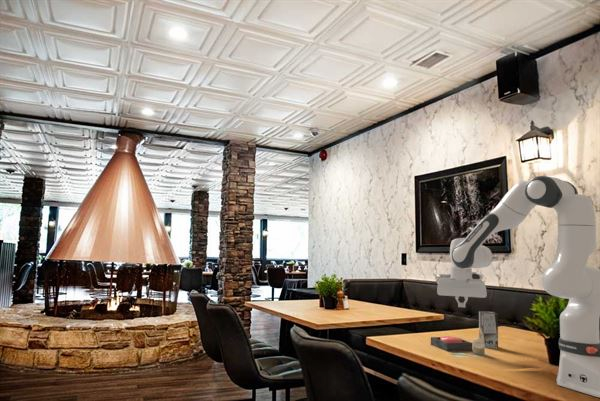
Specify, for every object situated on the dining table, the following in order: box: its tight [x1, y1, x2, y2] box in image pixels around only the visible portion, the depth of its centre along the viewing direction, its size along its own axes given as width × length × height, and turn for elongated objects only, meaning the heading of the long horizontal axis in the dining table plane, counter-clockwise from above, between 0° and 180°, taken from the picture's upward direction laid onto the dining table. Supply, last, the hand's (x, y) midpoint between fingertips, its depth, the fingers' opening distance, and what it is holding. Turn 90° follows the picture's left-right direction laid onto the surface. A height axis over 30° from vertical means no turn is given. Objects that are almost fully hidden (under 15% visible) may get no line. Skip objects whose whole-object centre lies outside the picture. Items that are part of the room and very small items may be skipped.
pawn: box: [472, 338, 486, 357], centre depth 172 cm, size 4×4×6 cm
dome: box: [439, 335, 463, 343], centre depth 183 cm, size 9×9×4 cm
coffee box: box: [478, 310, 499, 350], centre depth 191 cm, size 9×6×16 cm
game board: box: [430, 336, 490, 358], centre depth 177 cm, size 24×16×4 cm, turn 15°
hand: (461, 307), depth 180 cm, fingers closed
